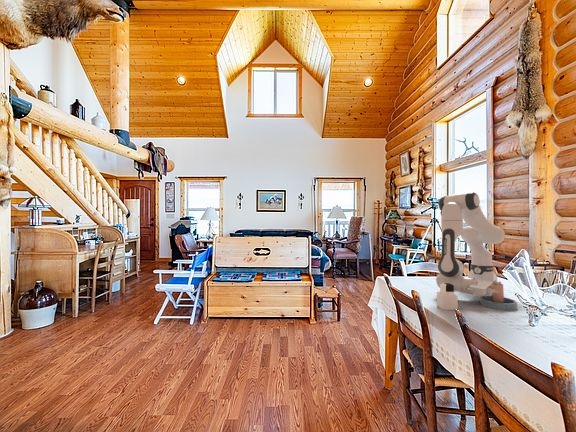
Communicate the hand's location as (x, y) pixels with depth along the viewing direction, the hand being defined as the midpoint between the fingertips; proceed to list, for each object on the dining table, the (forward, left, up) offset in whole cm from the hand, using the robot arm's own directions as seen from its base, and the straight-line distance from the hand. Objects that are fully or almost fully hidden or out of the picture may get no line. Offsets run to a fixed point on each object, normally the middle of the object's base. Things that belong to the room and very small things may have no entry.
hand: (500, 290), depth 154 cm
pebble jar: (0, -1, -7) cm, 7 cm away
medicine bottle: (+25, -15, -8) cm, 30 cm away
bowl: (0, -1, -8) cm, 8 cm away
